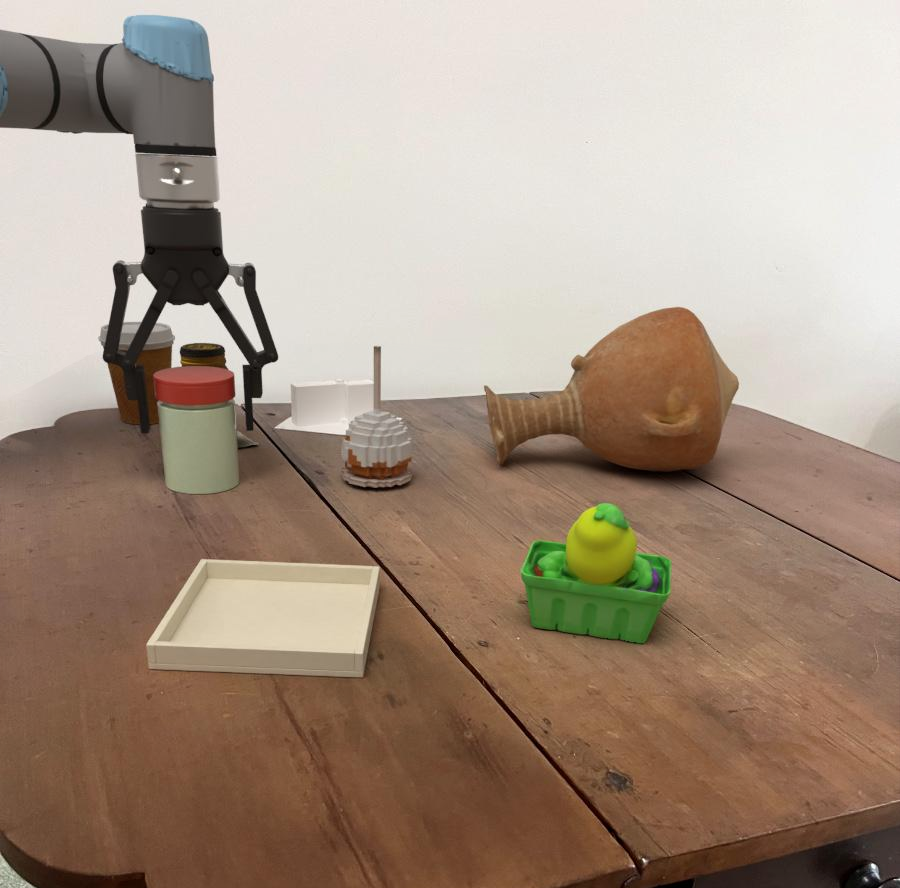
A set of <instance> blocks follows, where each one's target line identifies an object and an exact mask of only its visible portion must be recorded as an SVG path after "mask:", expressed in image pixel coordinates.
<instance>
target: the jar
mask: <svg viewBox="0 0 900 888" xmlns="http://www.w3.org/2000/svg"><path fill="white" fill-rule="evenodd" d="M157 406H158V417H159V423H158V425H159V436H160V445H161V457H162V466H163V476H164V485H165V487H166V488H167V489H169V490H170V491H173V492H176V493H181V494H187V495H209V494H218V493H222V492H227V491H230V490H232V489H234V488H236V487H237V486H238V485H239V484H240V481H241V477H240V461H239V447H238V443H237V431H238V430H237V413H236V400H235V399H234V398H233V399H232V400H229V401H226V402H222V403H217V404H210V405H176V404H169V403H165V402H162V401H158V402H157Z"/></svg>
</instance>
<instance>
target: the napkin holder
mask: <svg viewBox="0 0 900 888" xmlns="http://www.w3.org/2000/svg"><path fill="white" fill-rule="evenodd" d="M290 405H291V416H289V417H288V418H287V419H285V420H284V421H282V422H280V423H279V424H277V425H276V426H275V427H274V428H273V429H279V430H289V431H298V432H308V433H319V434H330V435H338V436H339V435H340V436H346V435H345V433H346V430H348V429H349V424H350V423H351V421H352V420H355V417H356V416H359V415H362V414H363V413H366V412H369V411H372V410H374V379H363V380H362V379H361V380H348V381H345V380H344V379H343V378H337V379H333V380H318V381H305V382H303V381H302V382H290ZM396 419H399V421H400V422H401V421H402V420H403V417H397V416H396Z"/></svg>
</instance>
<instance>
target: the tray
mask: <svg viewBox="0 0 900 888" xmlns="http://www.w3.org/2000/svg"><path fill="white" fill-rule="evenodd" d="M380 588H381V567H380V566H378V565H353V564H331V563H308V562H307V563H306V562H284V561H283V562H280V561H259V560H258V561H257V560H237V559H236V560H233V559H209V558H208V559H207V558H201V559H200V560H199V561H198V564H197V565H196V566H195V568H194V570H193V571H192V573H191V574H190V576H189V577H188V579H187V580H186V582H185V583H184V585H183V586H182V588H181V590H180V591H179V592H178V594H177V595H176V598H175V599H174V601H173V602H172V604H171V605H170V607H169V608H168V609H167V611H166V613H165V615H164V616H163V618H162V619H161V620H160V622H159V623H158V626H157V627H156V628H155V630H154V632H153V633H152V634H151V636H150V638H149V640H147V642H146V644H145V647H146V656H147V663H148V664H147V666H148V669H149V670H164V671H184V672H185V671H189V672H208V673H209V672H210V673H211V672H214V673H233V674H234V673H237V674H260V675H283V676H284V675H286V676H287V675H288V676H310V677H311V676H312V677H335V678H336V677H338V678H364V674H365V670H366V669H365V668H366V663H367V659H368V652H369V648H370V641H371V636H372V631H373V626H374V620H375V614H376V610H377V604H378V600H379V595H380V594H379V593H380Z"/></svg>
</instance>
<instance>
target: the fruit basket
mask: <svg viewBox="0 0 900 888" xmlns="http://www.w3.org/2000/svg"><path fill="white" fill-rule="evenodd" d="M637 548H638V539H637V536H636V533H635V532H634V530H633V529H632V527H631V524H630V522H628V521H627V520H626V516H625V515H624V513H623V511H622V510H620V508H619V507H618V506H617V505H615V504H613V503H608V502H602V503H599V504H597V505H596V506H592V507H589V508H587V509H586V510H585V511H583V512H582V513H581V515H580V516H579V517H578V519H577V520H576V521H575V522H574V523H573V524H572V526H571V527H570V528H569V530H568V533H567V536H566V539H565V542H564V543H563V542H555V541H551V540H550V541H549V540H541V539H540V540H535V541H532V542H531V544H530V547H529V549H528V552H527V555H526V557H525V560H524V562H523V564H522V566H521V568H520V576H521V580H522V583H523V584H524V588H525V593H526V599H527V600H526V601H527V605H528V612H529V616H530V617H529V618H530V622H531V623H530V624H531V626H532V627H533V628H536V629H540V630H541V629H542V630H549V631H556V630H557V631H558V632H563V633H568V634H575V635H588V636H591V637H594V638H601V639H607V638H608V640H621V641H624V640H625V641H624V642H627V641H629V642H628V643H634V642H636V643H635V644H641V643H643V644H645V643H646V641H647V639H648V637H649V635H650V633H651V631H652V629H653V626H654V624H655V622H656V620H657V618H658V616H659V613H660V612H661V609H662V607H663V605H664V604H665V603H666V602H667V601H668V599H669V597H670V595H671V593H672V589H671V586H672V560H671V559H669V557H666V556H663V555H658V554H657V555H655V554H648V553H643V552H642V553H641V552H637Z"/></svg>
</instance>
